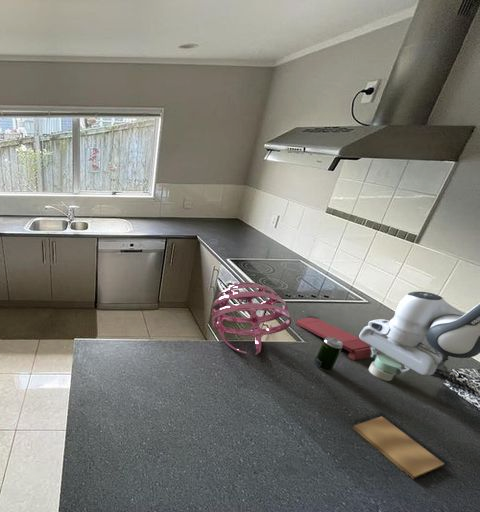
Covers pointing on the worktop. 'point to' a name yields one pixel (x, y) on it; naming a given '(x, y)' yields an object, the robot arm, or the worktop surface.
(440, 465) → the oak board
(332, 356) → the beer can
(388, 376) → the white round disc
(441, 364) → the grey chess piece
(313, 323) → the red long block
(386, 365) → the mint green round lid
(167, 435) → the worktop surface
